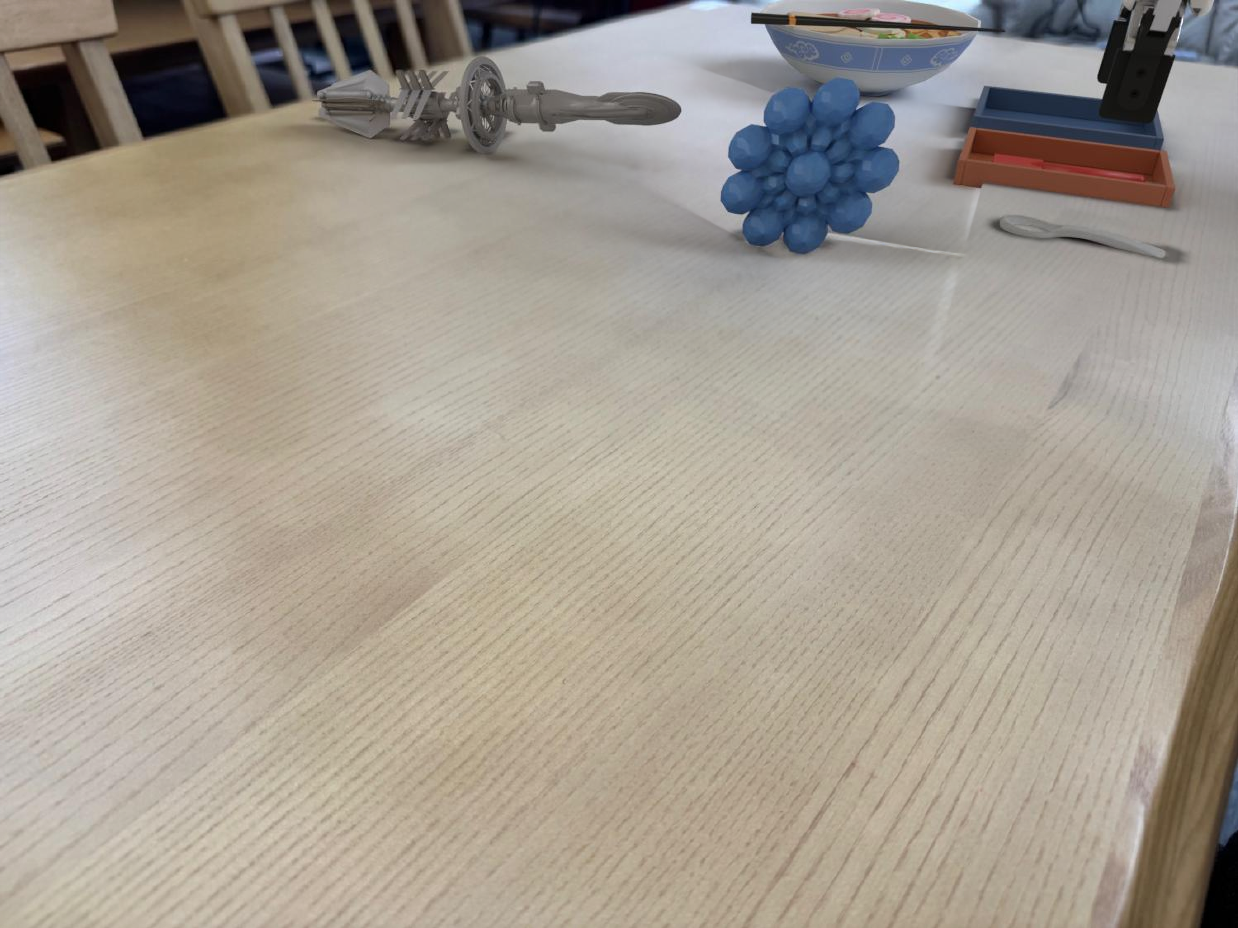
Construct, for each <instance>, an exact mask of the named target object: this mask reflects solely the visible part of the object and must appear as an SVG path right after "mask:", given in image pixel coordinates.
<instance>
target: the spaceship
mask: <svg viewBox="0 0 1238 928" xmlns="http://www.w3.org/2000/svg"><path fill="white" fill-rule="evenodd" d="M417 72H418V73H417V75H416V73H415V71H414V69H407V71H406V73H407V76H408V79H409V81H408V80H407V77H406V75H405V73H404V72H403V70H402V69H396V70H395V74H396V77H397V80H398V83H399V85H400V87H399V90H400V92H399V94H398V97H395V96H390V84H389V83H388V82H387V81H386V80H385V79H383V78H382V77H381V76H379V75H378V74H377V73H375V72H374V71H373V70H372V69H368V70H366V71H363V72H361V73H357V74H355V75H352V76H349V77H346V78H344V79H342V80H339V81H337V82H334V83H332V84H331V85H330V86H327V87H325V88H323V89H320V90H318V91H317V92H316V98H317V99H311V102H316V103H320V105H321V107H320V108H318V114H317V115H318V116H319V117H321V118H323V119H325V120H328V121H330V122H332V124H334V125H336V126H338V127H341V128H343V129H346V130H348V131H351V132H354V133H357V134H359V135H361V136H364V137H366V138H369V139H372V138H374V137H375V136H377V135H378V134H379V133H381V132H382V131H384V130H385V129H387V127H389V126H390V125H391V120H395V119H397V116H398V114H399V112H400V113H402V115H401V117H400V118H401V120H407V119H408V118H411V119H412V122H414V123H412V124H411V126H410V127H409V128H407V130H406V131H405V132H404V133H403V134H402V135H401V137H400V138H399V140H401V141H403V140H404V141H405V140H406V139H407V138H408V137H409V136H410V135H412V134H413V132H414V131H415V130H416V129H418V130H417V131H416V133H415V134H413V136H412V137H411V138H410V140H411V141H416V140H417V139H419V138H420V137H421V136H422V138H421V141H428V140H429V139H430V138H431V137H432V136H433V138H434V139H440V138H441V134H440V131H439V129H440V130H441V132H442V134H443V136H444V138H445V139H450V140H451V138H452V134H451V132H450V127H449V125H448V123H447V122H448V121H449V120H448V118H449V116H450V113H454V115H455V118H456V119H457V120H459V121H460V122H461V126H462V130H463V133H464V135H465V138H466V140H467V141H468V144H469V145H470V146H471V147H472V149H473V150H475V151H476V152H477V153H479V154H481V155H489V154H491V153H493V152H494V151H496V150H497V149H498V147H500V145H501V143H502V141H503V139H504V137H505V133H506V129H507V124H508V122H511V123H514V124H517V126H522V124H538V128H539V130H540V131H542V133H543V132H544V133H545V132H546V133H548V132H549V133H554V132H555V131H556V129H557V125H564V124H568V123H572V122H577V121H605V122H608V123H611V124H613V125H617V126H618V125H620V126H643V127H646V126H647V127H648V126H658V125H659V126H660V125H664V124H667V123H670V122H673V121H674V120H677V119H678V118H679V117H680V115H681V114H682V107H681V105H680V103H678V102H677V101H675V100H674V99H672V98H670V97H668V96H665V95H663V94H658V93H653V92H645V91H632V92H631V91H630V92H629V91H609V92H606V93H604V94H602V95H581V94H577V93H573V92H568V91H565V90H560V89H546V88H545V85H544V82H543V81H541V80H530V81H529V82H528V83H527V84H526V85H525V86H526V88H525V89H523V88H521V89H520V88H517V86H513V87H512V88H506V84H505V80H504V77H503V74H502V72H501V70H500V68H499V67H498V65H497V64H496V63H495V61H493V59H491V58H489V57H488V56H485V55H479V56H476V57H475V58H473V59H472V60H471V61H470V62H469V63H468V64H467V66H466V68H465V70H464V72H463V75H462V78H461V82H460V86H457V87H456V88H455V91H451V92H450V95H449V97H448V98H447V97H445V96H446V94H447V92H446V91H441V92H439V91H436V90H435V89H436V88H435V87H436V86H437V85H438V84H439V83H440V82H441V81H442V80H443V79H444V77H445V76H447V74H448V73H449V72H450V71H449V70H443V71H442V72H441V73H440V74H438V75H437V76H436V77H435V78H434V79H433V80H432V81H430V80H431V79H432V78H433V77H434V76H435V75H436V74H437V73H438V70H432V71H431V72H429V73H428V74H427V72H428V71H427V70H425V69H419V70H418V71H417ZM419 80H420V81H419ZM484 86H485V90H484ZM428 129H430V130H428Z"/></svg>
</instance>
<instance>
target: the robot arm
mask: <svg viewBox="0 0 1238 928" xmlns="http://www.w3.org/2000/svg"><path fill="white" fill-rule="evenodd" d="M1120 1H1121V5H1120V8H1119V12H1118V16H1117V19H1116V20H1115V19H1113V21H1112V25H1111V28H1110V32H1109V35H1108V38H1107V42H1106V45H1105V48H1104V52H1103V55H1102V58H1101V62H1100V65H1099V68H1098V72H1097V76H1096V80H1097V82H1098V83H1099V84H1103V85H1104V84H1105V88H1104V91H1103V95H1102V98H1101V99H1102V101H1101V104H1100V107H1099V115H1100V117H1102V118H1106V119H1114V120H1121V121H1129V122H1137V123H1144V124H1148V123H1150V122H1152V121H1153V120H1154V118H1155V115H1156V112H1157V109H1159V106H1160V103H1161V100H1162V97H1163V95H1164V92H1165V88H1166V85H1167V84H1168V80H1169V76H1170V74H1171V71H1172V68H1173V65H1174V62H1175V59H1176V54H1175V51H1176V49H1177V45H1178V41H1179V38H1180V34H1181V30H1182V25H1183V22H1184V17H1185V13H1186V9H1187V7H1189V9H1190V11H1191V13H1192V15H1193V16H1194V17H1195V18H1202V17H1204V16H1205V15H1207V14H1208V13H1210V12H1211V10H1212V9H1213V5H1214V2H1215V0H1120Z"/></svg>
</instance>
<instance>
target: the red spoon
mask: <svg viewBox="0 0 1238 928" xmlns="http://www.w3.org/2000/svg"><path fill="white" fill-rule="evenodd" d="M992 162H994V163H1002V164H1009V165H1017V166H1025V167H1032V168H1040V169H1047V170H1055V171H1062V172H1070V173H1077V174H1085V175H1093V176H1100V177H1108V178H1115V179H1123V180H1130V181H1138V182H1145V183H1147V181H1146V180H1145V177H1144V176H1142V175H1138V174H1131V173H1123V172H1115V171H1108V170H1100V169H1092V168H1085V167H1077V166H1069V165H1062V164H1054V163H1046V162H1043V160H1041V159H1033V158H1025V157H1017V156H1010V155H1002V154H994V158H993V161H992Z"/></svg>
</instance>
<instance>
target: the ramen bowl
mask: <svg viewBox="0 0 1238 928" xmlns="http://www.w3.org/2000/svg"><path fill="white" fill-rule="evenodd" d="M750 24H751V25H764V26H765V29H766V31H767V33H768V35H769V37H770V40H771V41H772V43H773V45H774V47H775V49H776V50H777V51H778V52H779V54H780V56H781V57H782V58H783V59H784V60H785V61H786V62H787V63H788V64H789V65H790V66H792V67H793V68H794V69H795V70H796V71H797V72H798V73H799V74H802V75H804V76H805V77H808V78H810V79H811V80H813V81H816V82H819V83H820V84H822V85H824V84H825V83H827V82H829V81H831V80H833V79H835V78H844V79H849V80H853V82H854V83H855V84H856V86H857V87H858V90H859V92H860V96H868V97H881V96H887V95H889V94H892V93H894V92H895V91H897V90H901V89H905V88H908V87H911V86H914V85H918V84H920V83H923V82H925V81H927V80H930V79H932V78H934V77H936V76H938V75H939V74H941V73H943V72H944V71H946V70H947V69H948V68H949V67H950V66H951V65H952V64H954V63H955V62H956V61H957V60H958V59H959V57H960V56H961V55H962V54H963V53H964V52H965V51H966V50H967V48H968V47H969V46H970V45H971V44H972V42H973V40H975V38H976V37H977V35H978V34H979V32H984V33H985V32H987V33H989V32H990V33H1006V30H1005V29H1003V28H990V27H989V28H988V27H981V26H982V25H981V24H982V21H981V20H980V19H978V18H976V17H974V16H972V15H970V14H968V13H966V12H964V11H960V10H956V9H953V8H948V7H945V6H941V5H937V4H932V3H931V4H930V3H925V2H918V1H911V0H780V1H776V2H771V3H768V4H766V6H765V7H763V8H762V9H761V10H760V12H751V14H750Z"/></svg>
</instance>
